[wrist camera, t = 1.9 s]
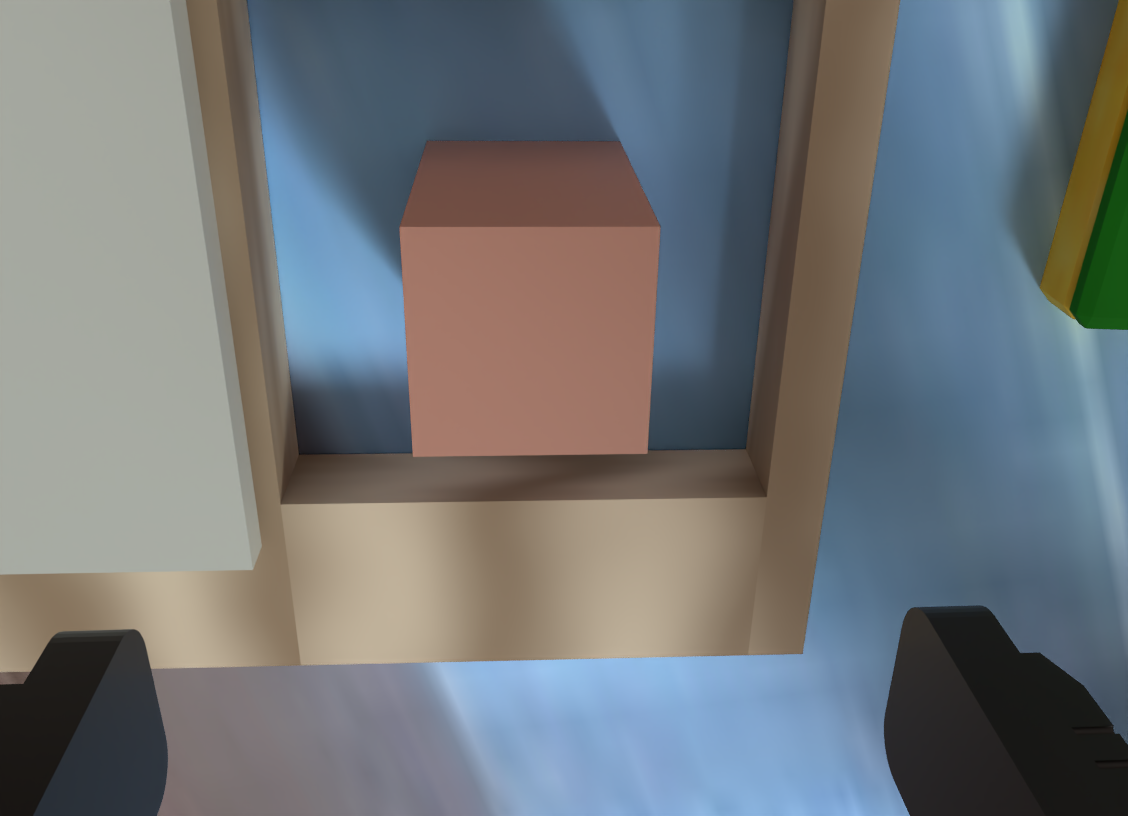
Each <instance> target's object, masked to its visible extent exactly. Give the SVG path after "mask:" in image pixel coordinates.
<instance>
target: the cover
mask: <svg viewBox="0 0 1128 816" xmlns="http://www.w3.org/2000/svg"><path fill="white" fill-rule="evenodd" d="M261 547H262V543H261V536H260V529H259V522H258V515H257V507H256V500H255V493H254V486H253V479H252V472H251V465H250V457H249V450H248V443H247V436H246V429H245V422H244V414H243V407H242V400H241V393H240V386H239V379H238V371H237V364H236V357H235V350H234V343H233V336H232V328H231V321H230V314H229V307H228V300H227V293H226V285H225V278H224V271H223V264H222V257H221V250H220V242H219V235H218V228H217V221H216V214H215V207H214V199H213V192H212V185H211V178H210V171H209V164H208V156H207V149H206V142H205V135H204V128H203V121H202V113H201V106H200V99H199V92H198V85H197V78H196V70H195V63H194V56H193V49H192V42H191V35H190V27H189V20H188V13H187V6H186V0H0V575H3V574H58V573H114V572H170V571H225V570H253V568H254V566H255V563H256V560H257V558H258V555H259V552H260V550H261Z"/></svg>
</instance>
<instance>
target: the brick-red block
mask: <svg viewBox="0 0 1128 816" xmlns="http://www.w3.org/2000/svg"><path fill="white" fill-rule="evenodd" d="M399 228H400V245H401V262H402V279H403V296H404V313H405V330H406V347H407V365H408V382H409V399H410V416H411V433H412V450H413V457H434V456H513V455H592V454H647V453H648V435H649V418H650V400H651V383H652V366H653V348H654V331H655V313H656V296H657V279H658V261H659V244H660V225H659V223H658V220H657V218H656V216H655V214H654V212H653V210H652V208H651V206H650V204H649V201H648V199H647V197H646V195H645V193H644V191H643V189H642V187H641V185H640V182H639V180H638V178H637V176H636V174H635V172H634V170H633V168H632V166H631V163H630V161H629V159H628V157H627V155H626V153H625V151H624V149H623V147H622V144H621V142H620V141H427V142H426V146H425V149H424V152H423V155H422V158H421V161H420V164H419V167H418V171H417V174H416V177H415V180H414V183H413V186H412V189H411V192H410V196H409V199H408V202H407V205H406V208H405V211H404V214H403V217H402V221H401V224H400V227H399Z"/></svg>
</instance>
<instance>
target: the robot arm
mask: <svg viewBox="0 0 1128 816" xmlns="http://www.w3.org/2000/svg"><path fill="white" fill-rule="evenodd" d="M884 740H885V749H886V754H887V760H888V764H889V767H890V771H891V774H892V776H893V779H894V781H895V783H896V786H897V788H898V790H899V792H900V794H901V797H902V799H903V801H904V803H905V806H906V808H907V810H908V812H909V815H910V816H1128V745H1127V743H1126V742H1125V741H1124V739H1123V738H1122V737H1121V735H1120V734H1115V733H1114V730H1113V725H1112V723H1111V722H1110V720H1109V719H1108V718H1107V716H1106V715H1105V714H1104V712H1103V711H1102V710H1101V708H1100V707H1099V706H1098V704H1097V703H1096V702H1095V700H1094V699H1093V698H1092V696H1091V695H1090V694H1089V692H1088V691H1087V690H1086V688H1085V687H1084V686H1083V685H1082V684H1081V683H1079V682H1078V681H1077V680H1075V679H1074V678H1073V677H1071V676H1070V675H1069V674H1067V673H1066V672H1065V671H1063V670H1062V669H1061V668H1059V667H1058V666H1057V665H1055V664H1054V663H1053V662H1051V661H1050V660H1049V659H1047V658H1046V657H1045V656H1043V655H1042V654H1041V653H1020V652H1019V651H1018V649H1017V648H1016V646H1015V645H1014V644H1013V642H1012V641H1011V639H1010V638H1009V636H1008V635H1007V633H1006V632H1005V631H1004V629H1003V628H1002V626H1001V625H1000V623H999V622H998V620H997V619H996V618H995V616H994V615H993V614H992V612H991V611H990V610H989V609H987V608H986V607H984V606H947V607H914V608H911V609H910V610H909V611H908V612H907V614H906V616H905V618H904V621H903V625H902V630H901V635H900V640H899V645H898V650H897V655H896V661H895V666H894V671H893V676H892V681H891V686H890V691H889V697H888V702H887V707H886V712H885V719H884ZM167 767H168V750H167V741H166V736H165V731H164V727H163V722H162V717H161V713H160V708H159V704H158V699H157V695H156V690H155V686H154V681H153V676H152V672H151V667H150V663H149V658H148V654H147V649H146V645H145V642H144V639H143V637H142V635H141V634H140V632H139V631H137V630H135V629H120V630H88V631H62V632H58V633H56V634H55V635H54V636H53V637H52V638H51V639H50V641H49V642H48V644H47V645H46V647H45V649H44V650H43V652H42V654H41V655H40V657H39V659H38V660H37V662H36V664H35V665H34V667H33V669H32V670H31V672H30V674H29V675H28V677H27V679H26V680H25V682H24V684H6V685H0V816H157V813H158V811H159V808H160V805H161V802H162V799H163V795H164V790H165V785H166V778H167Z"/></svg>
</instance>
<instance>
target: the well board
mask: <svg viewBox="0 0 1128 816" xmlns="http://www.w3.org/2000/svg"><path fill="white" fill-rule="evenodd" d="M899 5H900V0H794V2H793V11H792V20H791V30H790V39H789V49H788V58H787V67H786V77H785V86H784V96H783V105H782V114H781V124H780V133H779V143H778V152H777V162H776V171H775V180H774V190H773V199H772V209H771V218H770V227H769V237H768V246H767V256H766V265H765V274H764V284H763V293H762V303H761V312H760V321H759V331H758V340H757V350H756V359H755V368H754V378H753V387H752V397H751V406H750V415H749V425H748V434H747V444H746V449H727V450H648V453H647V454H592V455H513V456H434V457H413V453H398V454H316V455H299V451H298V442H297V434H296V425H295V416H294V407H293V399H292V390H291V381H290V373H289V364H288V355H287V347H286V338H285V329H284V320H283V312H282V303H281V294H280V286H279V277H278V268H277V260H276V251H275V242H274V233H273V225H272V216H271V207H270V199H269V190H268V181H267V172H266V164H265V155H264V146H263V138H262V129H261V120H260V112H259V103H258V94H257V85H256V77H255V68H254V59H253V51H252V42H251V33H250V25H249V16H248V7H247V0H186V6H187V13H188V20H189V27H190V35H191V42H192V49H193V56H194V63H195V70H196V78H197V85H198V92H199V99H200V106H201V113H202V121H203V128H204V135H205V142H206V149H207V156H208V164H209V171H210V178H211V185H212V192H213V199H214V207H215V214H216V221H217V228H218V235H219V242H220V250H221V257H222V264H223V271H224V278H225V285H226V293H227V300H228V307H229V314H230V321H231V328H232V336H233V343H234V350H235V357H236V364H237V371H238V379H239V386H240V393H241V400H242V407H243V414H244V422H245V429H246V436H247V443H248V450H249V457H250V465H251V472H252V479H253V486H254V493H255V500H256V507H257V515H258V522H259V529H260V536H261V543H262V547H261V550H260V552H259V555H258V558H257V560H256V563H255V566H254V568H253V570H225V571H170V572H114V573H58V574H3V575H0V672H28V671H31V670H32V669H33V667H34V665H35V664H36V662H37V660H38V659H39V657H40V655H41V654H42V652H43V650H44V649H45V647H46V645H47V644H48V642H49V641H50V639H51V638H52V637H53V636H54V635H55V634H56V633H58V632H62V631H88V630H120V629H135V630H137V631H139V632H140V634H141V635H142V637H143V639H144V642H145V645H146V649H147V654H148V658H149V663H150V667H151V669H159V668H203V667H247V666H291V665H335V664H379V663H422V662H466V661H510V660H554V659H598V658H642V657H686V656H729V655H773V654H803V647H804V641H805V634H806V627H807V620H808V614H809V607H810V600H811V594H812V587H813V580H814V574H815V567H816V560H817V554H818V547H819V540H820V533H821V527H822V520H823V513H824V507H825V500H826V493H827V487H828V480H829V473H830V467H831V460H832V453H833V446H834V440H835V433H836V426H837V420H838V413H839V406H840V400H841V393H842V386H843V380H844V373H845V366H846V359H847V353H848V346H849V339H850V333H851V326H852V319H853V313H854V306H855V299H856V292H857V286H858V279H859V272H860V266H861V259H862V252H863V246H864V239H865V232H866V226H867V219H868V212H869V205H870V199H871V192H872V185H873V179H874V172H875V165H876V159H877V152H878V145H879V139H880V132H881V125H882V118H883V112H884V105H885V98H886V92H887V85H888V78H889V72H890V65H891V58H892V52H893V45H894V38H895V31H896V25H897V18H898V11H899Z"/></svg>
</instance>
